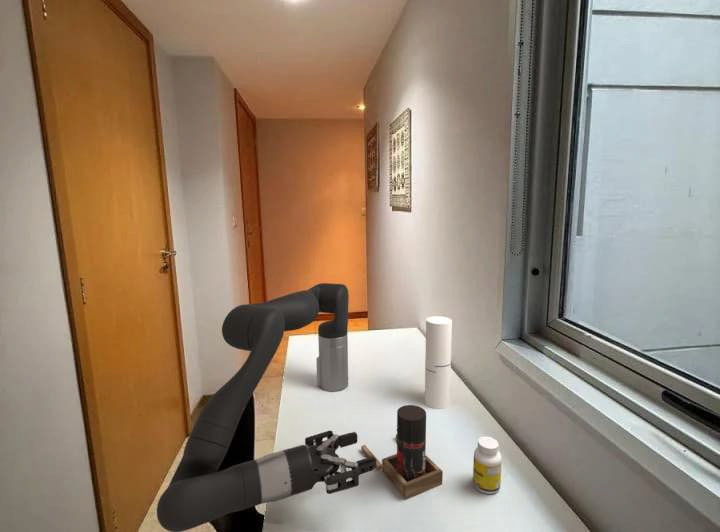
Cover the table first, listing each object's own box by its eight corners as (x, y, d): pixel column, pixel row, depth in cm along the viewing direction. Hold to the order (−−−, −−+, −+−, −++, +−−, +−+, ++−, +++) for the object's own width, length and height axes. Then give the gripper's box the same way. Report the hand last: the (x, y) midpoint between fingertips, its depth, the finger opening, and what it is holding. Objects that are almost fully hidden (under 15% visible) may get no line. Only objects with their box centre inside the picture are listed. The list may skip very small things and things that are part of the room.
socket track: (361, 450, 90) (361, 438, 90) (399, 437, 95) (399, 426, 94) (402, 501, 75) (402, 487, 74) (445, 482, 80) (445, 469, 79)
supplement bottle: (468, 477, 81) (470, 434, 80) (493, 475, 82) (495, 433, 80) (478, 496, 76) (480, 451, 74) (505, 494, 76) (507, 449, 75)
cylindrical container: (449, 409, 107) (452, 324, 103) (424, 407, 109) (425, 323, 105) (449, 397, 114) (451, 316, 110) (425, 395, 116) (426, 315, 112)
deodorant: (425, 489, 78) (426, 421, 75) (395, 486, 79) (396, 419, 76) (425, 469, 83) (426, 406, 81) (397, 466, 84) (398, 404, 82)
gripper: (293, 480, 61) (382, 452, 68) (274, 433, 74) (351, 413, 81) (295, 521, 63) (382, 490, 69) (276, 468, 75) (351, 445, 82)
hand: (365, 448), depth 75 cm, fingers open, 8 cm apart
